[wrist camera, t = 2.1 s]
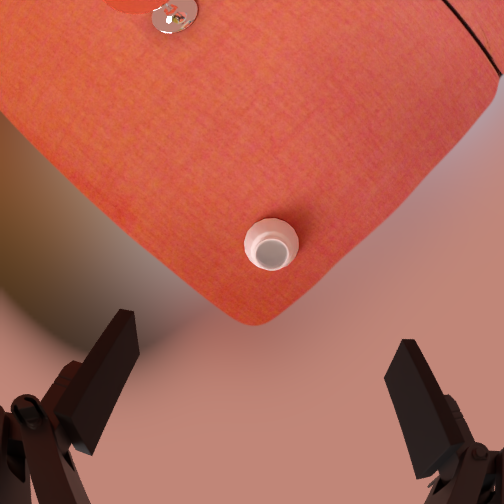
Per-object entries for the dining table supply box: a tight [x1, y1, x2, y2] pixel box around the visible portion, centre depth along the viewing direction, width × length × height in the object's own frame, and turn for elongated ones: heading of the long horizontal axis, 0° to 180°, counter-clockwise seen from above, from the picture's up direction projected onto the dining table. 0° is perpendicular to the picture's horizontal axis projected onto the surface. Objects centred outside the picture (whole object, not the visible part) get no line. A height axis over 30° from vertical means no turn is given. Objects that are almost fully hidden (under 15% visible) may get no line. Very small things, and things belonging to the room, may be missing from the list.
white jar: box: [244, 218, 299, 271], centre depth 28 cm, size 5×3×5 cm
